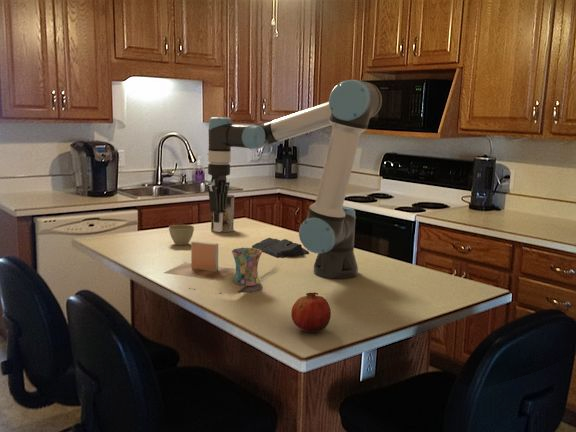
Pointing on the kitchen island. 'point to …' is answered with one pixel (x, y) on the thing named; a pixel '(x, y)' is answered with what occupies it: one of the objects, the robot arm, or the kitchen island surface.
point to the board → (200, 272)
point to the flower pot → (181, 233)
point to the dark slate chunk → (280, 248)
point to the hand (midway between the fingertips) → (217, 231)
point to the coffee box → (226, 215)
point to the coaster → (251, 288)
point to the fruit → (311, 313)
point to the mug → (246, 266)
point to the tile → (204, 256)
